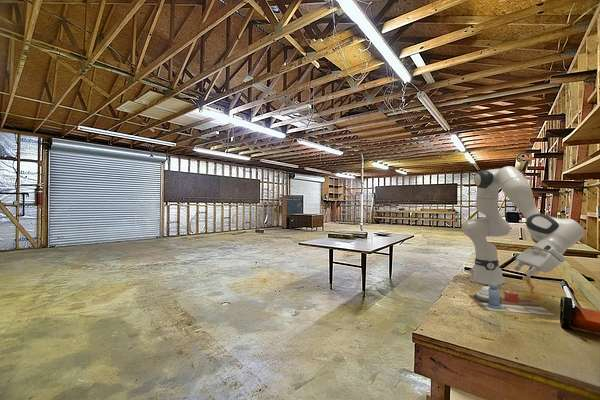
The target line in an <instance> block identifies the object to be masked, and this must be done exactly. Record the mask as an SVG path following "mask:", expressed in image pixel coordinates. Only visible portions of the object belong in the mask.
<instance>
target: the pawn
mask: <svg viewBox="0 0 600 400" xmlns="http://www.w3.org/2000/svg"><path fill="white" fill-rule="evenodd" d="M488 287H490V288H488V290H489V303H487V305H488V307H490V308H493V309H502V305H500V297H501V296H500V294H501V293H500V289H499V285H497V284H496V283H490V285H488Z"/></svg>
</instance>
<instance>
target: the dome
mask: <svg viewBox="0 0 600 400" xmlns="http://www.w3.org/2000/svg"><path fill="white" fill-rule="evenodd" d="M488 288H490V287H489V285H488V286H487V285H486V286H485V285H484V286H482V287H481V289H479V290H478V291H475V294H476V296H477V297H479V298H481V299H486V300H489V290H488Z"/></svg>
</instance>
